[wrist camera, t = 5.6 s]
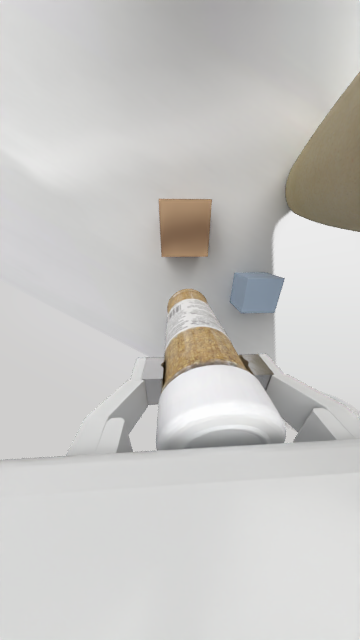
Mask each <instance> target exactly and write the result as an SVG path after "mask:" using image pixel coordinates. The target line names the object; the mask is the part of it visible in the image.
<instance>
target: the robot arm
mask: <svg viewBox="0 0 360 640" xmlns="http://www.w3.org/2000/svg"><path fill="white" fill-rule="evenodd" d="M239 357H240V359H241V361H242V362H243V364H244V366H245V368H246V369H247V370H248V371H249V372H250V373H251V374H252V375H254V376H255V377H256V378H257V379H258V381H259V382H260V383H261V385H262V387H263V388H264V390H265V391H266V393H267V394H268V396H269V398H270V399H271V401H272V403H273V404H274V406H275V408H276V409H277V411H278V412H279V414H280V416H281V417H282V418H283V419H284V420H285V421H286V422H287V423H288V424H289V425H291V426H292V427H293V428H294V429H295V430H296V431H297V432H298V434H297V436H296V437H295V439H294V441H293V443H278V444H261V445H244V446H227V447H210V448H193V449H176V450H159V451H143V452H133V450H132V447H131V443H130V439H129V433H130V432H131V430H132V429H133V427H134V426H135V424H136V423H137V421H138V420H139V419H140V417H141V416H142V414H143V413H144V411H145V410H146V408H147V407H148V405H155V404H159V399H160V396H161V393H162V388H163V386H164V373H165V358H164V357H138V358H137V359H136V362H135V366H134V369H133V372H132V375H131V379H130V380H128V381H126V382H125V383H124V384H123V385H121V386H120V387H119V388H118V389H117V390H116V391H115V392H114V393H113V394H112V395H110V396H109V397H108V398H107V399H106V400H105V401H103V402H102V403H101V404H100V405H99V406H98V407H97V408H96V409H94V410H93V411H92V412H91V413H90V414H89V415H88V416H87V417H86V418H85V419H84V420H83V422H82V425H81V426H80V428H79V430H78V432H77V434H76V436H75V439H74V440H73V442H72V444H71V446H70V448H69V450H68V452H67V454H66V456H57V457H39V458H22V459H5V460H0V640H360V418H359V417H358V416H356V415H355V414H354V413H353V412H352V411H351V410H350V409H349V408H348V407H347V406H345V405H344V404H342V403H340V402H338V401H336V400H334V399H332V398H331V397H329V396H327V395H325V394H323V393H321V392H319V391H318V390H316V389H314V388H312V387H310V386H308V385H306V384H304V383H303V382H301V381H299V380H297V379H295V378H294V377H292V376H290V375H288V374H284V373H283V372H282V371H281V369H280V368H279V367H278V366H277V365H276V364H275V362H274V361H273V360H272V359H271V358H270V357H269V356H268V355H267V354H266V353H262V354H243V355H239Z"/></svg>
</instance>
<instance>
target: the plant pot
mask: <svg viewBox="0 0 360 640" xmlns="http://www.w3.org/2000/svg"><path fill="white" fill-rule="evenodd" d="M285 196H286V201H287V204H288V206H289V208H290V209H291V210H292V211H293V212H294V213H295V214H297V215H299V216H302V217H304V218H306V219H309V220H312V221H315V222H318V223H321V224H325V225H328V226H333V227H337V228H341V229H347V230H352V231H358V232H360V72H359V73H358V75H357V76H356V77H355V79H354V80H353V81H352V82H351V84H350V85H349V86H348V88H347V89H346V90H345V92H344V93H343V94H342V95H341V97H340V98H339V99H338V101H337V102H336V103H335V105H334V106H333V108H332V109H331V110H330V112H329V113H328V114H327V116H326V117H325V119H324V120H323V121H322V123H321V124H320V125H319V127H318V128H317V130H316V131H315V133H314V134H313V135H312V137H311V138H310V140H309V141H308V143H307V144H306V146H305V147H304V149H303V151H302V152H301V154H300V155H299V157H298V158H297V160H296V162H295V163H294V165H293V167H292V169H291V171H290V173H289V176H288V179H287V182H286V189H285Z"/></svg>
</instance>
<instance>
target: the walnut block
mask: <svg viewBox="0 0 360 640" xmlns="http://www.w3.org/2000/svg"><path fill="white" fill-rule="evenodd" d="M211 203H212V199H159V214H160V234H161V253H162V257H207V256H208V245H209V231H210V217H211Z"/></svg>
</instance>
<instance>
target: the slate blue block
mask: <svg viewBox="0 0 360 640" xmlns="http://www.w3.org/2000/svg"><path fill="white" fill-rule="evenodd" d="M283 282H284V278H281V277H278V276H275V275H271V274H268V273H234V279H233V285H232V292H231V298H230V303H231V304H232V305H233V306H234V307H235V308H237V309H238V310H239V311H240V312H241V313H274V312H275V309H276V306H277V302H278V299H279V295H280V292H281V289H282V286H283Z"/></svg>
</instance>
